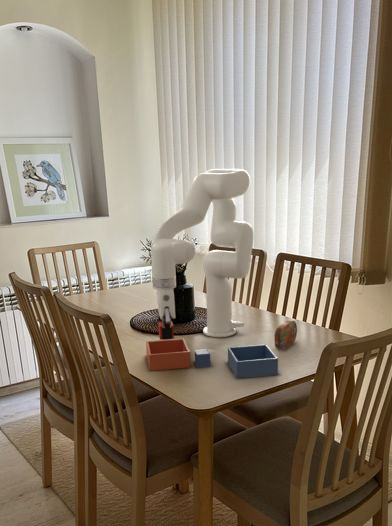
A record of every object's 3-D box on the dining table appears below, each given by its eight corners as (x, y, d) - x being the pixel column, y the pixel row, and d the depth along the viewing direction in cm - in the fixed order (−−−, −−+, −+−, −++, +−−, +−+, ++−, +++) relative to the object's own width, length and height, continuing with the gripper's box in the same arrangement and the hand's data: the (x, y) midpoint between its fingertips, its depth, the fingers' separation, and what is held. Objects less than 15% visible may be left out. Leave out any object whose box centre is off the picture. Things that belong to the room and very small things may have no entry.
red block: (172, 334, 184) (171, 321, 182) (173, 338, 179) (173, 325, 178) (158, 335, 183) (158, 322, 181) (160, 339, 179) (159, 326, 177)
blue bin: (266, 359, 184) (266, 344, 182) (277, 374, 172) (278, 358, 170) (227, 362, 182) (227, 347, 180) (236, 378, 170) (236, 361, 168)
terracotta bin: (184, 353, 191) (184, 338, 190) (190, 367, 179) (189, 351, 177) (146, 356, 190) (146, 341, 188) (150, 370, 177) (149, 354, 175)
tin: (280, 353, 189) (281, 330, 186) (272, 351, 191) (272, 328, 188) (297, 340, 201) (298, 318, 198) (289, 338, 203) (290, 317, 200)
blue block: (208, 361, 184) (207, 348, 182) (210, 366, 180) (210, 353, 178) (194, 362, 183) (194, 349, 182) (197, 367, 179) (196, 354, 177)
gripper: (179, 288, 168) (181, 344, 174) (172, 276, 183) (174, 328, 190) (154, 289, 166) (157, 345, 173) (150, 277, 182) (152, 329, 188)
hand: (166, 336), depth 181 cm, fingers closed on red block, 4 cm apart
